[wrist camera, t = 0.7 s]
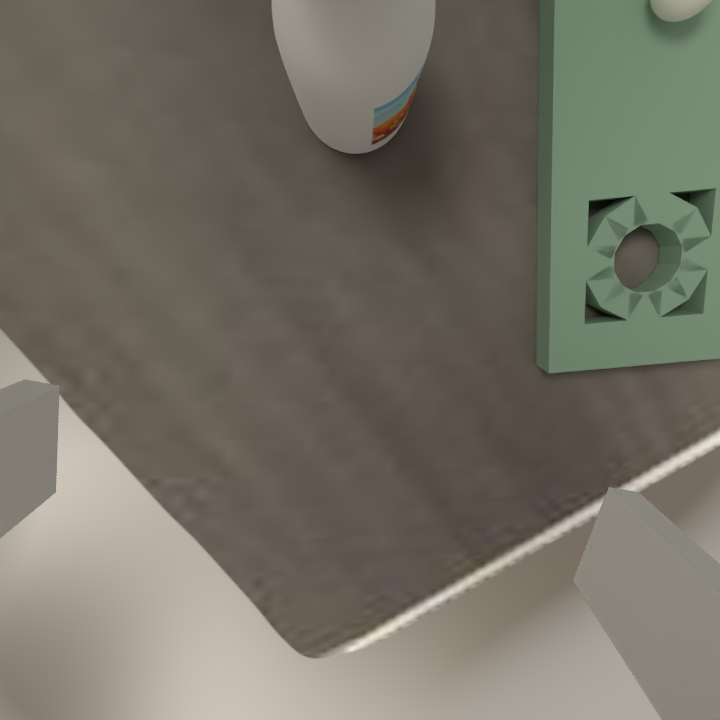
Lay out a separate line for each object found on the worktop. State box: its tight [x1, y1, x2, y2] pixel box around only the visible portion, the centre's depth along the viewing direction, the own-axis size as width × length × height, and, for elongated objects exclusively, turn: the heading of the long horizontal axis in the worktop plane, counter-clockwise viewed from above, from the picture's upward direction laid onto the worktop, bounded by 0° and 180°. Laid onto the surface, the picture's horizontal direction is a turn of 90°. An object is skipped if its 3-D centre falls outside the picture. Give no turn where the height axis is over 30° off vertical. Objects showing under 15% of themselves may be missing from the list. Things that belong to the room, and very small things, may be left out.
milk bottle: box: [272, 0, 436, 154], centre depth 22 cm, size 8×8×20 cm
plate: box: [536, 0, 720, 373], centre depth 31 cm, size 32×14×2 cm, turn 5°
